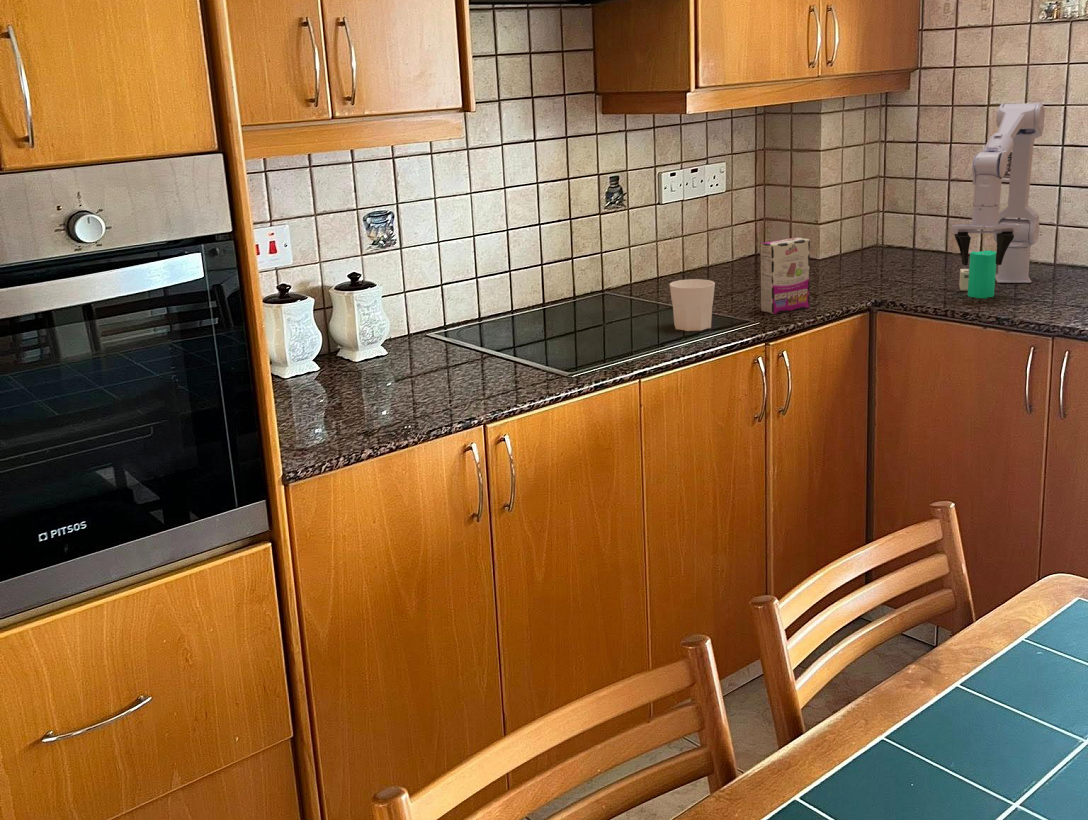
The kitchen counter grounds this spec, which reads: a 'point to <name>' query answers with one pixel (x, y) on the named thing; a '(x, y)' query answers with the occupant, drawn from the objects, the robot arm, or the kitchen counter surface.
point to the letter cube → (964, 279)
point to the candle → (982, 274)
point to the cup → (692, 304)
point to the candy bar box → (785, 275)
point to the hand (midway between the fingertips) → (981, 264)
